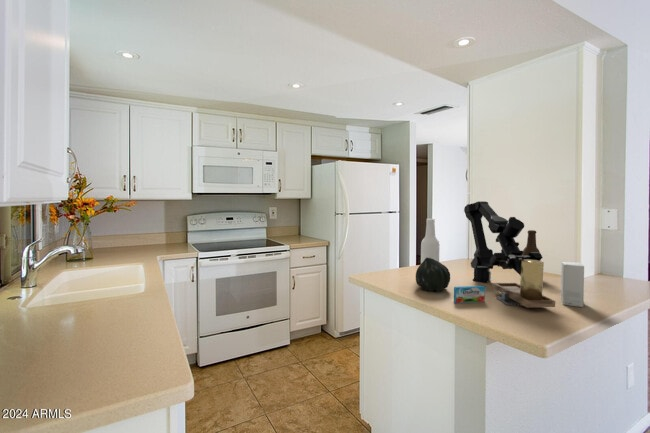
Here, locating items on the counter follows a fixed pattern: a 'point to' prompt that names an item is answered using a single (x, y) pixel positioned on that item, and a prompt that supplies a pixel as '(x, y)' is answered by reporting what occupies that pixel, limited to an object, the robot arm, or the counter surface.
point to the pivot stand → (507, 299)
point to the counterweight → (531, 279)
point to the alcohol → (430, 242)
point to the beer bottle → (530, 243)
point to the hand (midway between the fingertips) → (524, 277)
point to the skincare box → (572, 284)
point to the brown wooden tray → (514, 294)
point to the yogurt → (469, 294)
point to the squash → (432, 275)
